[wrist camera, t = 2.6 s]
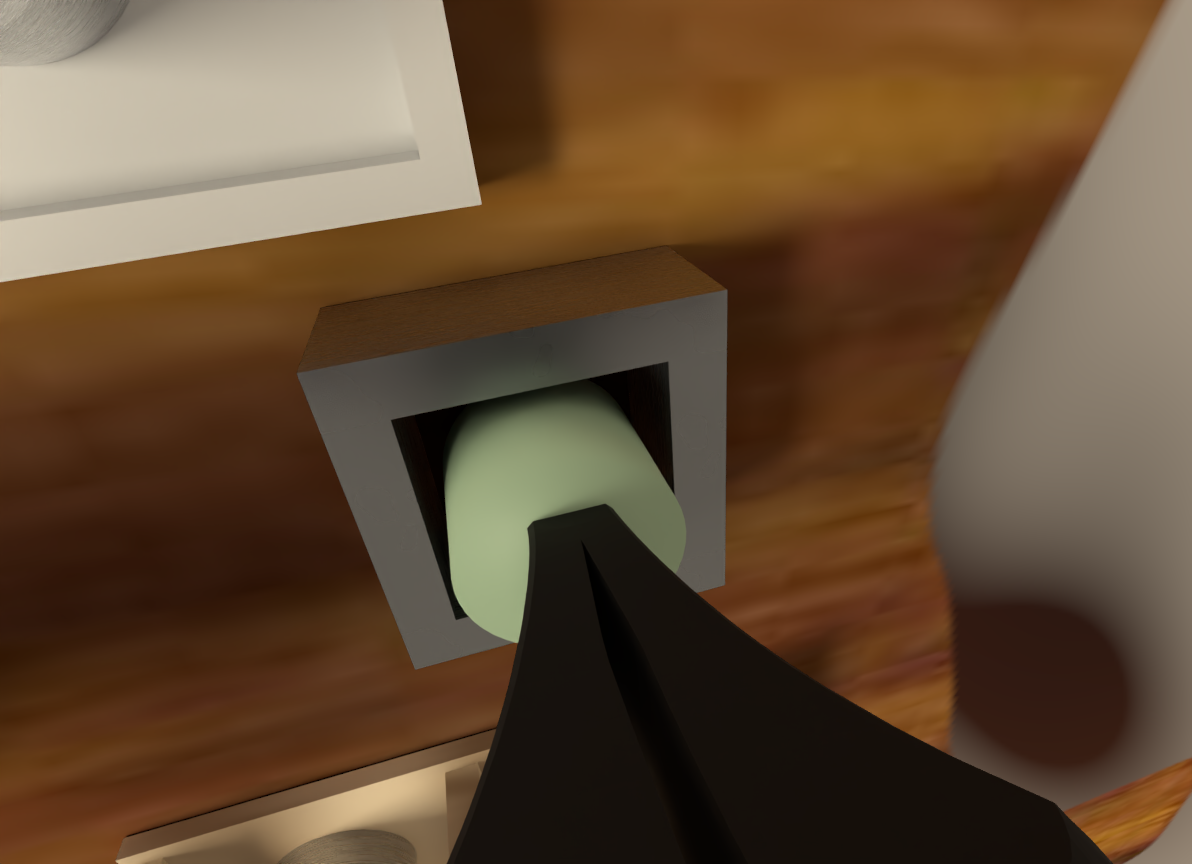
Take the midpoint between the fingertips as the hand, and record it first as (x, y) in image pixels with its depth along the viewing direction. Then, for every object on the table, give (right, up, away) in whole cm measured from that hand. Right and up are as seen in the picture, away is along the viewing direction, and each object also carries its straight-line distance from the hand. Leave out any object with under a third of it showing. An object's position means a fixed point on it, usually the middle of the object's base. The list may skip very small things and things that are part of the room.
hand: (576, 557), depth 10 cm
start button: (-1, +2, +3) cm, 3 cm away
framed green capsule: (-1, +2, +4) cm, 5 cm away
